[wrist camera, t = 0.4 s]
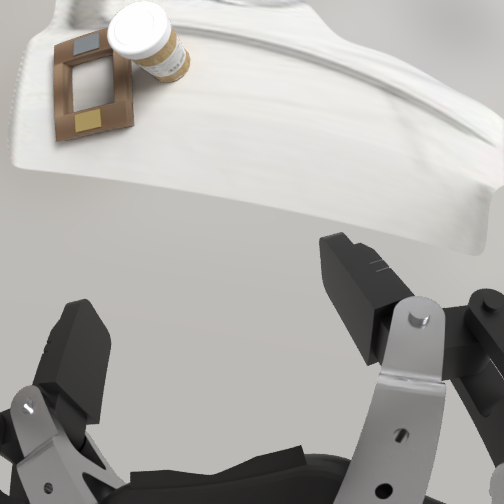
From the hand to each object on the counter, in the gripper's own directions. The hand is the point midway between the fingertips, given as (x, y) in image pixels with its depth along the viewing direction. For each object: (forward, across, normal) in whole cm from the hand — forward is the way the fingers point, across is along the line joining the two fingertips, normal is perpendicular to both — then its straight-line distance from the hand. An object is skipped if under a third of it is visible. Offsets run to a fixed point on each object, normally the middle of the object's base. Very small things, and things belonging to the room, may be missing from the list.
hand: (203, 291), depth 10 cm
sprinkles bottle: (+28, +1, -9) cm, 29 cm away
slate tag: (+27, +9, -15) cm, 32 cm away
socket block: (+29, +10, -10) cm, 32 cm away
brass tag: (+25, +11, -6) cm, 28 cm away
